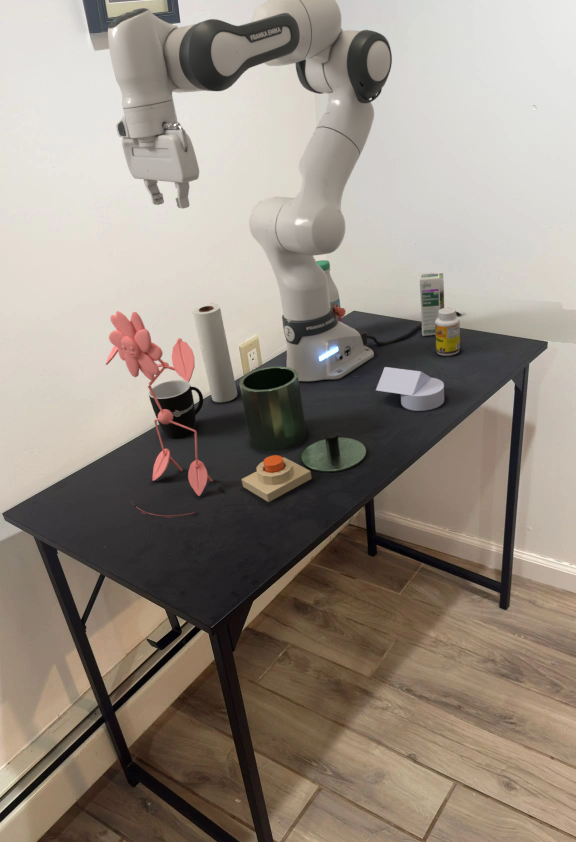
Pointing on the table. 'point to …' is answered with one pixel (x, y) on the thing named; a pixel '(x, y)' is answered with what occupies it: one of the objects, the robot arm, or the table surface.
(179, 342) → the figurine
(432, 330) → the syrup box
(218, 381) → the paper towel roll
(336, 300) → the milk bottle
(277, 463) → the power button
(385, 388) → the wedge on round base
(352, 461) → the kettle lid
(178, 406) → the mug
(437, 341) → the supplement bottle
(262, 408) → the dark green cylinder
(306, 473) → the switch base
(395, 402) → the table surface
